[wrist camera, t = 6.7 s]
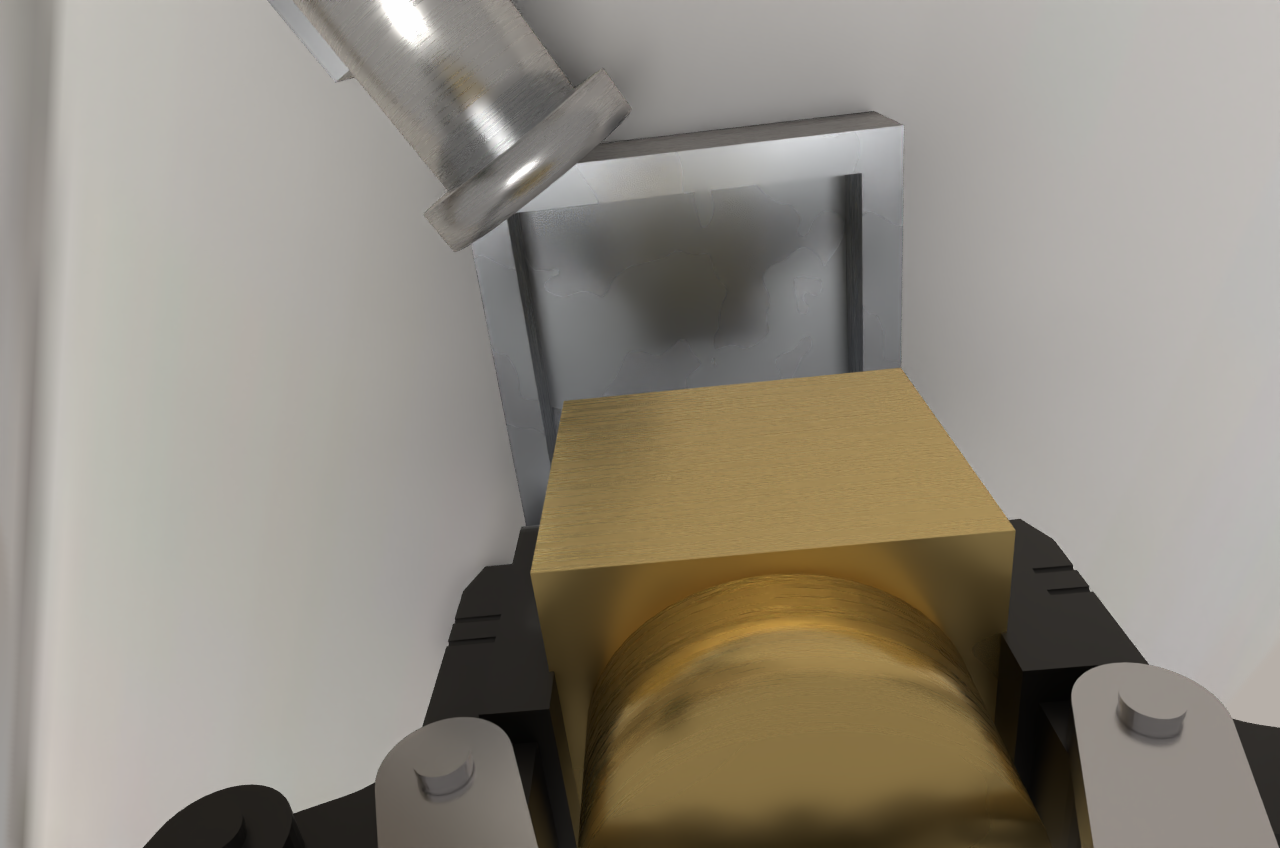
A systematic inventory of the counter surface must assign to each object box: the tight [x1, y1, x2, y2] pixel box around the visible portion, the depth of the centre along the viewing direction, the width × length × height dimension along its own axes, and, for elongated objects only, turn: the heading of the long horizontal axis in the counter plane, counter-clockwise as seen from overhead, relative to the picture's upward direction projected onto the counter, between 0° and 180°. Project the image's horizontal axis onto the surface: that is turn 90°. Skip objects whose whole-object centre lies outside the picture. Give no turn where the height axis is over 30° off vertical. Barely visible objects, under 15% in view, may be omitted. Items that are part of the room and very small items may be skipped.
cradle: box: [471, 111, 904, 526], centre depth 20 cm, size 9×9×2 cm
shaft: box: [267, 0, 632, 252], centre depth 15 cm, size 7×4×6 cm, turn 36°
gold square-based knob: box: [530, 368, 1053, 848], centre depth 10 cm, size 4×4×6 cm
